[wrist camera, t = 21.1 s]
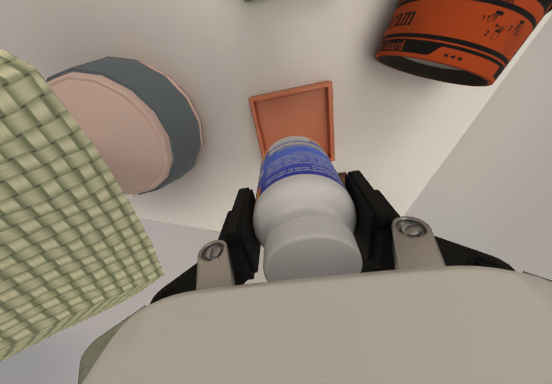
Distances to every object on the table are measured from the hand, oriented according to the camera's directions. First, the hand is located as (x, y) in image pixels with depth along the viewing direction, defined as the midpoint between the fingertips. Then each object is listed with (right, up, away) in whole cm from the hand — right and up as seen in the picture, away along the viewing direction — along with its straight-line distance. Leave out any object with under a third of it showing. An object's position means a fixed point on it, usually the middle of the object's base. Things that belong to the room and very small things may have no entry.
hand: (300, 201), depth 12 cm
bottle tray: (+2, +12, +22) cm, 25 cm away
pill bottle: (0, +3, +4) cm, 5 cm away
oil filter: (+18, +24, +14) cm, 33 cm away
